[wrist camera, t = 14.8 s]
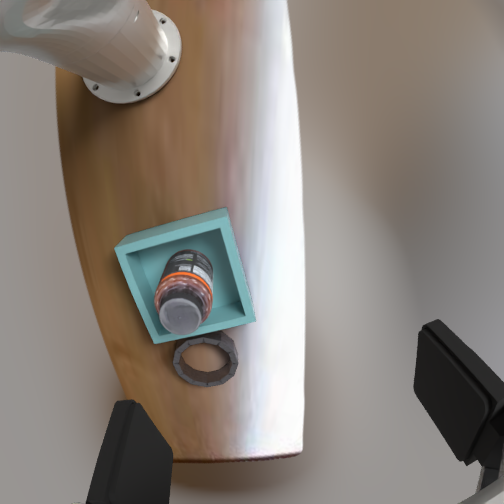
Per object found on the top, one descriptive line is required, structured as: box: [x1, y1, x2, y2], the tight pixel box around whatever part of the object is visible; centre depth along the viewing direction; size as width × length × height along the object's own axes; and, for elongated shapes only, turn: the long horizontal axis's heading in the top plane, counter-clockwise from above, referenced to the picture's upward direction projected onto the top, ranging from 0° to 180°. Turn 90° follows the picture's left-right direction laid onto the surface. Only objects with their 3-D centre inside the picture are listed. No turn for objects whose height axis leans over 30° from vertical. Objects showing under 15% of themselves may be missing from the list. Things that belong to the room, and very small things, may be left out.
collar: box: [173, 330, 238, 387], centre depth 43 cm, size 9×9×2 cm
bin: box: [114, 207, 256, 344], centre depth 37 cm, size 13×13×5 cm
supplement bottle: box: [154, 249, 213, 335], centre depth 33 cm, size 6×6×11 cm
